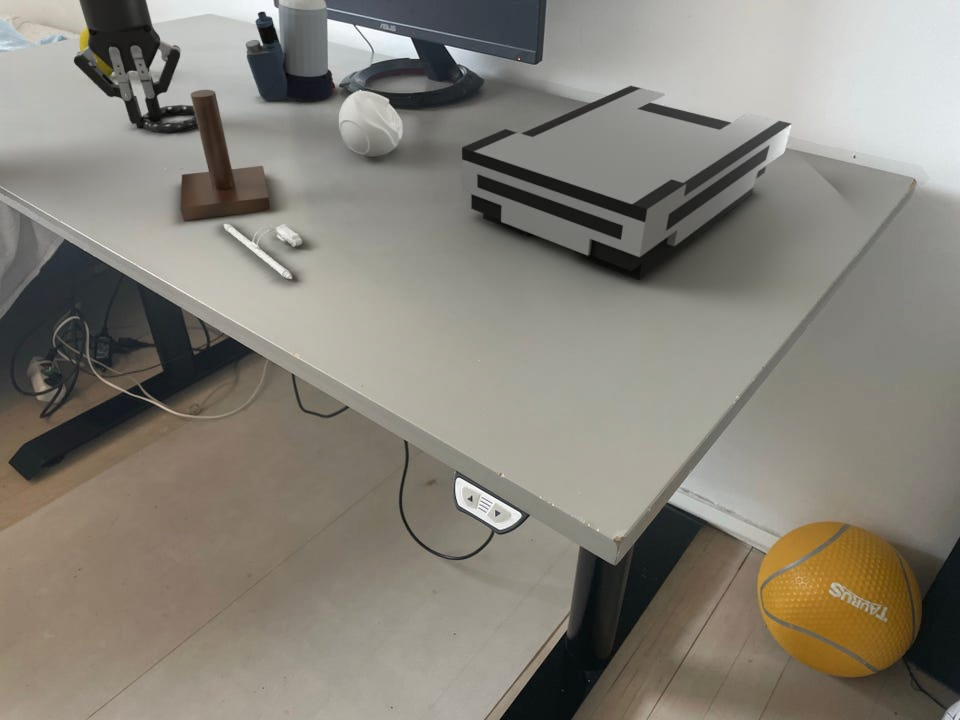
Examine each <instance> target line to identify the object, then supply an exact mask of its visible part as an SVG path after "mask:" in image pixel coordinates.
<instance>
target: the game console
mask: <svg viewBox="0 0 960 720" xmlns="http://www.w3.org/2000/svg"><path fill="white" fill-rule="evenodd" d="M667 99H668V93H665V92H661V91H660V92H659V91H655V90H651V89H646V88H644V87H643V88H642V87H638V86H634V85H628V86H626V87H624V88H622V89H620V90H617V91H615V92H613V93H611V94H608V95H606V96H603V97H602V98H599V99H597V100H595V101H591V102H590V103H588V104H585V105H583V106H581V107H578V108H577V109H574V110H572V111H569V112H567V113H565V114H562V115H560V116H558V117H555V118H553V119H550V120H549V121H547V122H544V123H542V124H540V125H537V126H535V127H533V128H531V129H528V130H526V131H523V132H518V131H517V132H516V131H514V130H511V129H507V128H504V129H502V130H500V131H497V132H495V133H492V134H491V135H488V136H486V137H483V138H481V139H478V140H476V141H473V142H471V143H469V144H467V145H464V146H462V147H461V191H463V192H464V193H468V194H470V203H471V206H470V209H471V210H473V211H476V212H478V213H481V214H482V219H483V220H486V221H489V222H491V223H494V224H497V225H499V226H501V227H504V228H506V229H508V230H511V231H514V232H516V233H519V234H522V235H525V236H527V237H528V236H530V235H531V234H532V235H534V236H537V237H539V238H541V239H544V240H547V241H549V242H552V243H554V244H557V245H559V246H561V247H565V248H567V249H570V250H572V251H576V252H578V253H579V254H583V255H585V259H586V260H588V261H590V262H592V263H595V264H598V265H600V266H603V267H605V268H608V269H611V270H613V271H616V272H618V273H621V274H623V275H626V276H629V277H631V278H633V279H636V280H638V281H641V280H642V279H643V278H644V277H645V276H647V274H649V273H650V272H652V271H653V270H654V269H656V268H657V267H658V266H660V265H661V264H662V263H664V262H665V261H666V260H668V259H669V258H670V257H671V256H673V255H674V254H675V253H677V252H678V251H679V250H681V249H682V248H683V247H685V246H686V245H687V244H689V243H690V242H691V241H692V240H694V239H695V238H697V237H698V236H699V235H700V234H702V233H703V232H705V231H706V230H707V229H708V228H710V227H711V226H712V225H713V224H715V223H716V222H717V221H719V220H720V219H721V218H723V217H724V216H725V215H726V214H728V213H729V212H730V211H732V210H734V208H736V207H738V206H739V205H740V204H741V203H742V202H744V201H745V200H746V199H749V197H750V196H752V195H753V190H754V187H755V185H756V182H757V181H756V180H757V179H758V178H760V177H761V176H763V175H764V174H765V173H766V170H767V166H768V165H769V164H770V163H772V162H773V161H775V160H776V159H778V158H779V157H781V156H782V155H783V154H784V153H785V151H786V148H787V143H788V141H789V136H790V133H791V129H792V125H793V123H791V122H787V121H783V120H778V119H774V118H769V117H766V116H762V115H757V114H753V113H749V112H748V113H746V114H744V115H742V116H741V117H738V118H737V119H736V120H733V121H732V122H731V121H727V120H723V119H718V118H715V117H711V116H707V115H703V114H698V113H695V112H691V111H686V110H682V109H679V108H676V107H675V108H674V107H670V106H666V104H667Z"/></svg>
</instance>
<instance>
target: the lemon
mask: <svg viewBox="0 0 960 720" xmlns="http://www.w3.org/2000/svg"><path fill="white" fill-rule="evenodd" d="M88 39H89V31H88V28H87V27H85V28H84V29H83V30H82V31H81V33H80V35H79V40H78V41H79V42H78V44H79V45H78V47H79V52H82V51H83V50H84V49H85V48H87V47H88ZM94 56H95V58H96V59H97V64H96V65H97V66H98V67H99V68H100V69H101V70H102V71H103V72H104V73H105V74H106V75H107V76H108V77H109V78H111V76H112V74H113V73H115V72H114V70H113V69H111V68H110V67H109V66H108V65H107V64H106V63H105V62H103V61H102V60H101V59H100V58H99V57H98V56H97V55H96V54H95V53H94Z"/></svg>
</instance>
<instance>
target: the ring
mask: <svg viewBox="0 0 960 720" xmlns="http://www.w3.org/2000/svg"><path fill="white" fill-rule="evenodd" d="M160 109H161V113H162V116H161V118H163V117H167V116H174V115H192V116H194V117H192V118H187V119H185V120H182V121H181V120H180V121H175V122H152V121H151V120H150V116H149V113H148V112H146V113H143V115H142V120H141V124H142V126H143V127H142V128H145V129H147V130H149V131H151V132H154V133H165V134H166V133H167V134H169V133H176V132H184V131H189V130H191V129H195V128H198V124H197V120H196V115H195V111H194V107H193V105H187V104H177V105H175V104H174V105H165V106H160Z"/></svg>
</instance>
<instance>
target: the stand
mask: <svg viewBox="0 0 960 720" xmlns="http://www.w3.org/2000/svg"><path fill="white" fill-rule="evenodd" d="M190 99H191V103H192V106H193V107H194V111H195V115H196V120H197V124H198V127H197V129H198V131H199V137H200V142H201V144H202V148H203V152H204V153H203V154H204V157H205V161H206V162H205V163H206V166H207V169H208V171H201V172H193V173H183V174H181V183H180V185H181V186H180V202H179V210H180V213H181V217H182V220H183V221H184V222H185V221H193V220H201V219H209V218H216V217H226V216H233V215H240V214H241V215H243V214H250V213H259V212H265V211H266V212H267V211H271V210H272V209H271V202H270V197H269V191H268V185H267V180H266V174H265V168H264V165H257V166H248V167H237V168H232V164H231V159H230V155H229V149H228V145H227V141H226V136H225V132H224V128H223V123H222V121H223V120H222V117H221V112H220V108H219V103H218V99H217V94H216V91H214V90H212V89H200V90H195V91H192V92H190ZM195 115H194V116H195Z"/></svg>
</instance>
